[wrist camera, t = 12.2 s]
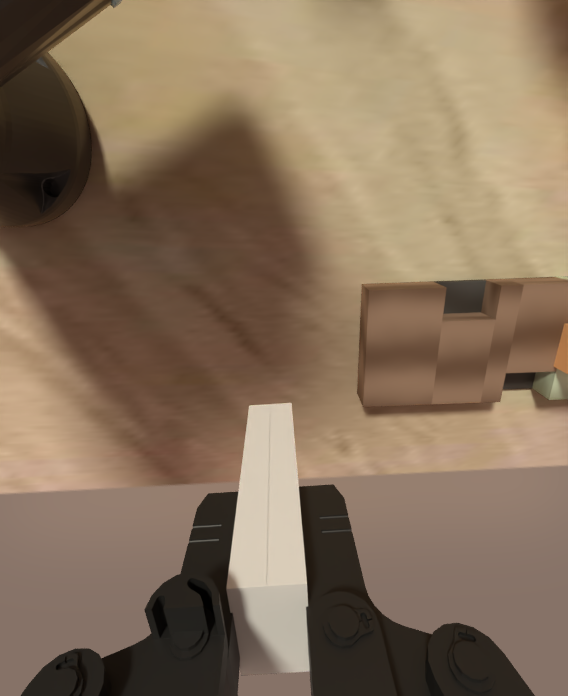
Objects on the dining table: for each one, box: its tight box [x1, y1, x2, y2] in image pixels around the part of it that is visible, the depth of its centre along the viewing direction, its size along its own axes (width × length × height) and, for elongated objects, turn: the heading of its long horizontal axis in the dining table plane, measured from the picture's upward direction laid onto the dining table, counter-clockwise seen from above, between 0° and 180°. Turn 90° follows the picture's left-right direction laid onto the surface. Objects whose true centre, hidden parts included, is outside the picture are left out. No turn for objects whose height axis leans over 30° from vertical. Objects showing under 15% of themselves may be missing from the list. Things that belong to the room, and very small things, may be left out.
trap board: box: [357, 277, 568, 407], centre depth 35 cm, size 12×26×4 cm, turn 92°
